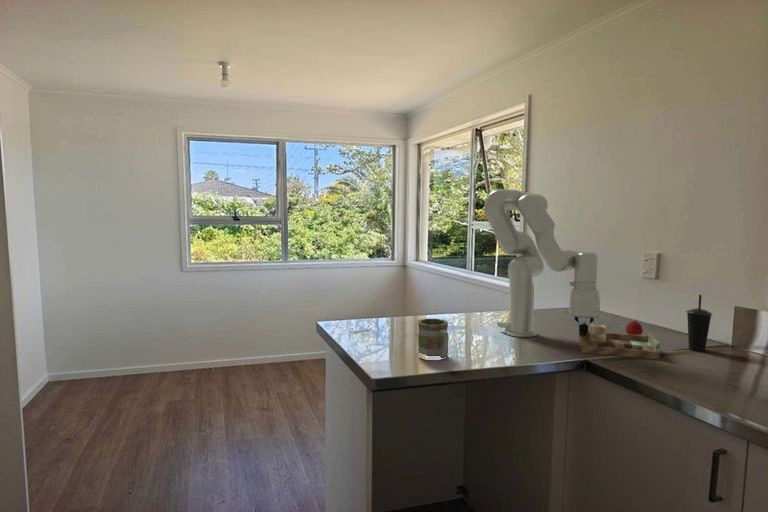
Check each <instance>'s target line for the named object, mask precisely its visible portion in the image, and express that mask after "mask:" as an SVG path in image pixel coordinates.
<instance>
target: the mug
mask: <svg viewBox="0 0 768 512" xmlns="http://www.w3.org/2000/svg"><path fill="white" fill-rule="evenodd" d="M417 325H418V326H417V327H418V331H417V332H418V334H417V342H418V344H417V345H418V346H417V347H418V349H417V350H418V351H419V353H422V354H425V355H427V356H440V357H441V358H445V357H448V355H449V340H450V339H449V338H450V337H449V333H448V327H449V323H448V320H445V319H441V318H424V319H419V320H417ZM418 351H417V352H418Z"/></svg>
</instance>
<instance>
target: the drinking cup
mask: <svg viewBox="0 0 768 512" xmlns="http://www.w3.org/2000/svg"><path fill="white" fill-rule="evenodd" d="M701 307H702V294H699V295H698V308H691V309H688V310H686V313H687V332H688V333H687V334H688V349H689V350H691V351H694V352H699V353H700V352H705V351H706V348H707V342H708V335H709V331H710V324H711V317H712V316H713V313H712V312H710V311H708V310H706V309H703V308H701Z"/></svg>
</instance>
